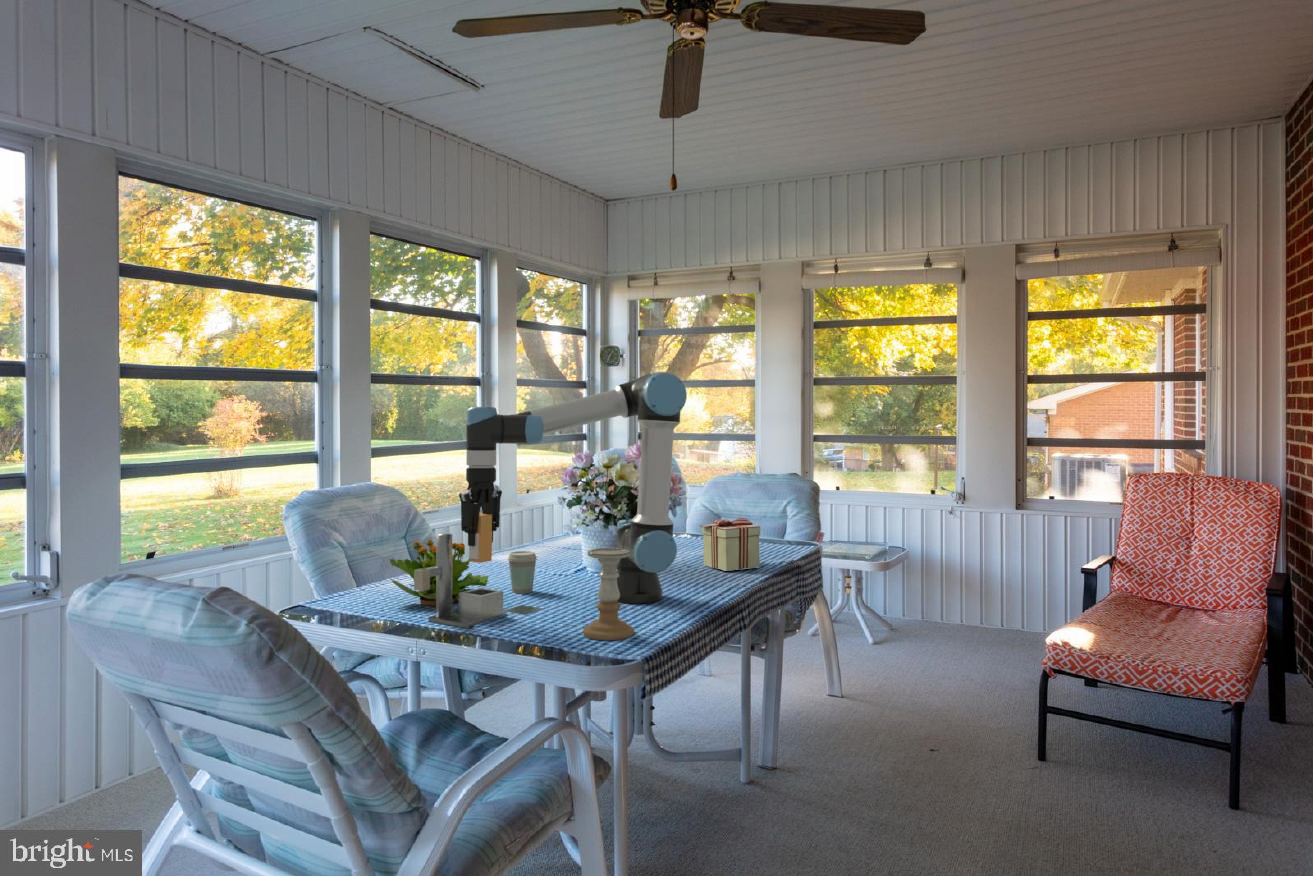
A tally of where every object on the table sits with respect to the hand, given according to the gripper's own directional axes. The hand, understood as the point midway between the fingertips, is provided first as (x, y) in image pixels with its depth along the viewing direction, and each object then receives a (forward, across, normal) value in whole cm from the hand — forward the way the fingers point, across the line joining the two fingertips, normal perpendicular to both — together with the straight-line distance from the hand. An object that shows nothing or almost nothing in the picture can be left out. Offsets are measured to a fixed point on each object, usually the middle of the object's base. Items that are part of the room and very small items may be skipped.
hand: (480, 557), depth 214 cm
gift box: (+16, -103, +19) cm, 106 cm away
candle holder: (+16, -6, +36) cm, 40 cm away
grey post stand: (+16, +4, -2) cm, 17 cm away
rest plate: (+16, -12, +4) cm, 21 cm away
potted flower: (+16, -7, -24) cm, 30 cm away
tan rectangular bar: (+1, 0, 0) cm, 1 cm away
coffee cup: (+16, -30, -12) cm, 36 cm away
